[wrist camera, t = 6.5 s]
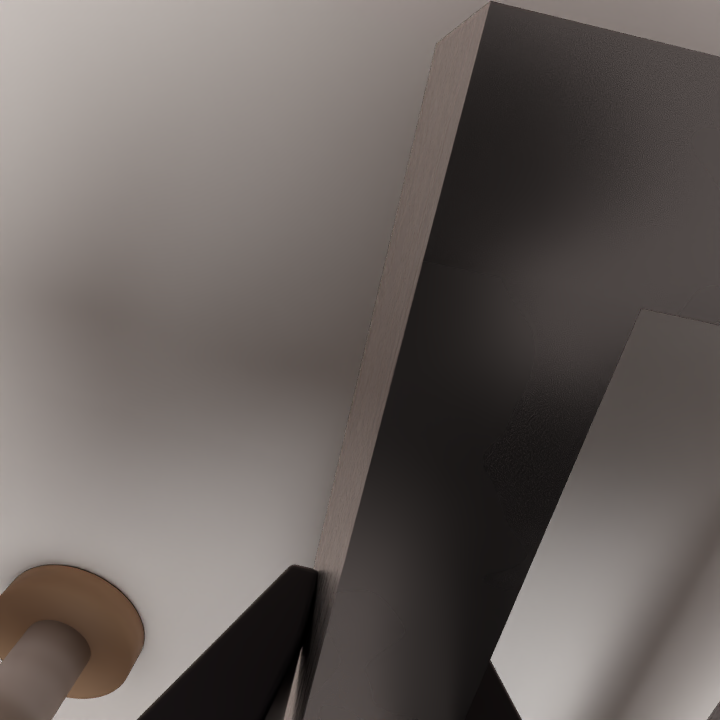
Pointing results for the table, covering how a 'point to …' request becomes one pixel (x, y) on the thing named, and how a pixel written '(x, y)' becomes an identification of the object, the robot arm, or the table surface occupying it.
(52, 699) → the peg stand
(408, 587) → the grey frame
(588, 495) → the table surface
